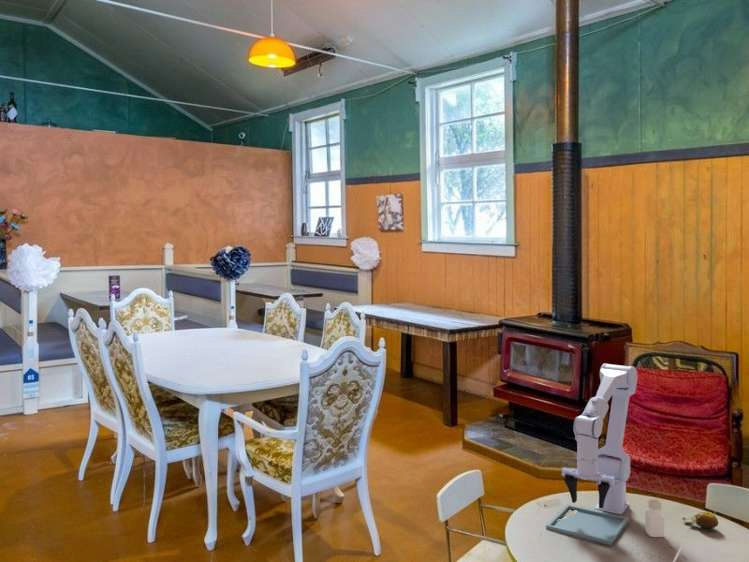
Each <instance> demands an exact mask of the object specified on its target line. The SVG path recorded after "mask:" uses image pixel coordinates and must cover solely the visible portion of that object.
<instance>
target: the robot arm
mask: <svg viewBox="0 0 749 562" xmlns="http://www.w3.org/2000/svg"><path fill="white" fill-rule="evenodd" d="M599 379H600V384H599V387H598V389H597V391H596V395H595V396H594V397H593V396H592V397H590V399H589V400H588V402H587V404H586V406H585V408H584V410H583V412H582V413H581V414H580V415H579V416H576V417H575V418H574V421H573V433H574V436H575V437H574V439H575V441H576V446H577V447H576V448H577V449H576V451H577V452H576V454H577V456H576V457H577V459H576V461H577V462H576V464H577V465H576V467H577V468H573V467H571V468H570V467H562V469H561V476H562V477H565V478H563V481H564V484H565V485H566V487H567V489H568V491H569V494H570V498H571V499H570V500H571V503H573V504H575V503H576V502H577V501H578V490H577V489H578V480H579V479H581V480H585V481H590V482H591V481H592V482H597V483H598V485H597V488H598V489H597V490H598V503H597V504H596V505H594V506H595V507H594V509H595V510H597V511H599V510H600V511H601V512H603V511H604V512H606V513H610V514H612V513H613V514H615V515H622V514H624V512H625V511H626V510H627V508H628V507H629V506H630V503H629V502H627V485H626V484H627V483H626V481H628V480H629V478H630V475H631V457H630V456H629V454H628V453H627V452H625V450H624V449H623V444H624V437H625V432H626V431H625V429H626V424H627V419H628V418H627V417H628V410H629V402H630V397H631V396H633V395H635V394H636V390H637V384H638V383H637V382H638V371H637V369H636V367H635V366H633V365H631V366H630V365H629V366H628V365H619V364H611V363H605V362H604V363H603V364H602V365H601V366H600V369H599ZM611 398H612V399H611ZM610 399H611V405H610V406H609V403H608V402H609V400H610ZM609 407H610V412H609V420H608V425H607V430H606V431H607V433H606V439H605V445H604V446H602V447H601V448H599V437H600V436H601V435H602V431H603V426H604V421H603V420H604V419H605V417H606V415H607V413H608V411H609Z"/></svg>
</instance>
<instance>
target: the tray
mask: <svg viewBox="0 0 749 562" xmlns="http://www.w3.org/2000/svg"><path fill="white" fill-rule="evenodd" d="M572 509H573V510H577V511H578V512H577V513H576V514H575V515H569V516H568V517H567V519H566V518H565V519H561V520H558V519H559V518H561V517H563V516H564V515H565V514H566V512H567V511H568V510H572ZM557 520H558V521H559V522H558V521H557ZM628 524H629V517H626V516H623V515H622V516H621V515H618V514H614V513H613V514H612V513H609V512H605V511H604V512H603V511H599V510H596V509H595V510H594V509H590V508H586V507H585V508H584V507H582V506H581V507H580V506H577V505H576V506H575V505H571V504H566V505H565V506H564V507H563V508H562V509H561V510H560V511H559V512H558V513H557V514H556V515H555V516H554V517H552V519H551V520H550V521H549V522H548V523H546V524H545V529H546V530H549V529H550V530H549V531H554V532H557V533H560V534H563V535H567V536H571V537H574V538H577V539H581V540H585V541H588V542H591V543H593V544H594V543H595V544H597V545H598V544H599V545H603V546H606V547H612V546H613V545H614V543H615V542H617V540H618V538H619V537H620V535H622V533H623V532H624V530H625V528H626V527H627V526H628Z"/></svg>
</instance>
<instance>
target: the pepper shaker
mask: <svg viewBox="0 0 749 562" xmlns="http://www.w3.org/2000/svg"><path fill="white" fill-rule="evenodd" d="M661 511H662V501H660V500H658V499H655V498H652V499H648V510H645V514H644V515H645V524H644V525H645V528H644V529H645V533H646V534H647V535H648V536H649V537H651V538H664V537H665V515H664V514H663V513H662V512H661Z"/></svg>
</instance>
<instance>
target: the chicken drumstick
mask: <svg viewBox="0 0 749 562" xmlns="http://www.w3.org/2000/svg"><path fill="white" fill-rule="evenodd" d="M682 520H683V522H686V523H692V522H695V523H697V524H698V525H699V527H701V528H703V529H706V530H712V529H714V528H716V527H717V526H718V525H719V520H718V518H717V516H716V515H715V514H714V513H712V512H711V511H700V512H698V513H696V514H695V515H693V516H690V517H688V518H686V517H682Z"/></svg>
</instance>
